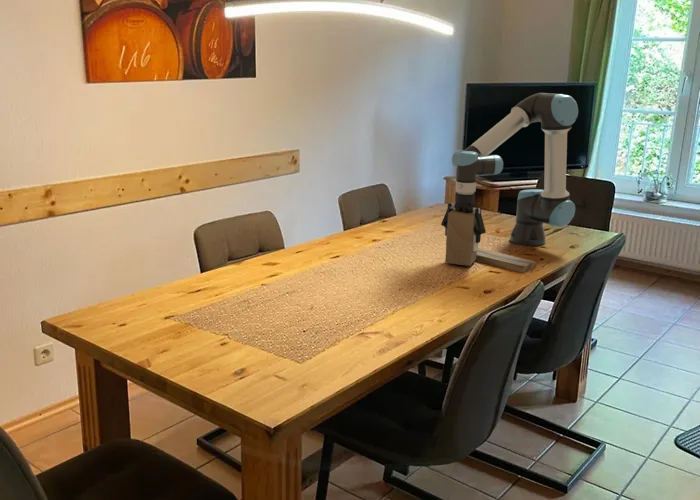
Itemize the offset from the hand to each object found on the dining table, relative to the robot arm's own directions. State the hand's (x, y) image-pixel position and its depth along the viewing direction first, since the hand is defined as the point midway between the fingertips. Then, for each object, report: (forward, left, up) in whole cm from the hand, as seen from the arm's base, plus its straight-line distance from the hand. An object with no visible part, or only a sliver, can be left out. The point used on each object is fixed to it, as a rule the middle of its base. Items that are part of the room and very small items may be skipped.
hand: (461, 247), depth 269 cm
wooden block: (0, 0, -6) cm, 6 cm away
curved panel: (-12, +9, -7) cm, 17 cm away
